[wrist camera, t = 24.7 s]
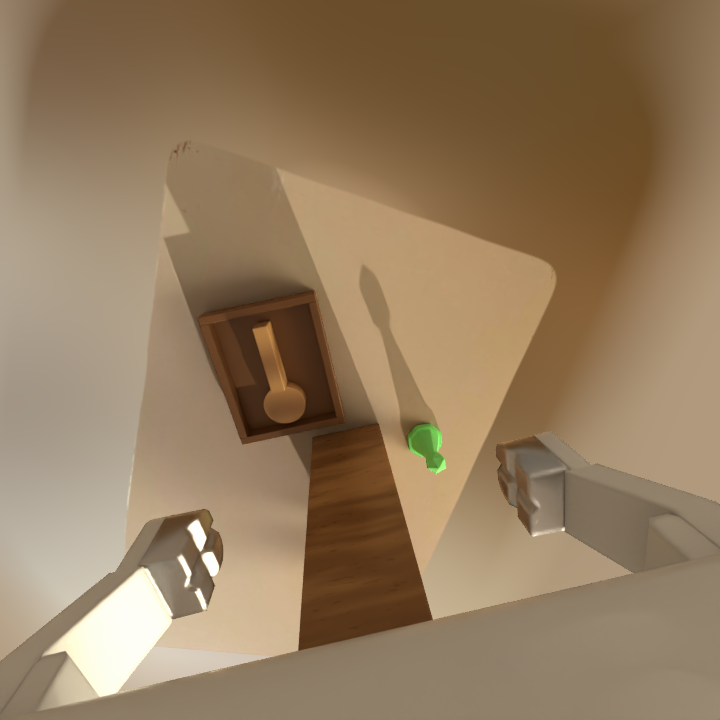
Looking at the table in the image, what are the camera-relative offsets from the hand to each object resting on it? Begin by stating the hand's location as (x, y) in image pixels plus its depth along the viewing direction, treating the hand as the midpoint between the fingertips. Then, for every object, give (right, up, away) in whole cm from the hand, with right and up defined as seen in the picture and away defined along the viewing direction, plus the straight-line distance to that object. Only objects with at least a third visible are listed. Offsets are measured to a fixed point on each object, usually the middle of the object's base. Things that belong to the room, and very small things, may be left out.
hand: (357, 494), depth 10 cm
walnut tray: (-9, +3, +29) cm, 31 cm away
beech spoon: (-9, +3, +29) cm, 30 cm away
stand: (-1, -10, +34) cm, 36 cm away
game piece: (+8, -6, +34) cm, 35 cm away
